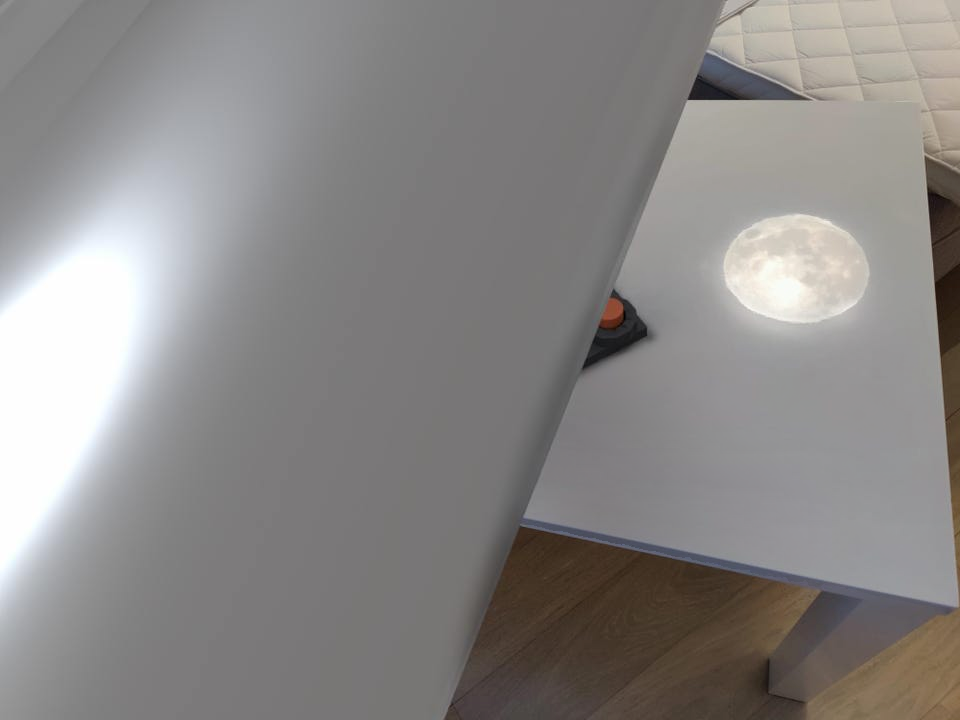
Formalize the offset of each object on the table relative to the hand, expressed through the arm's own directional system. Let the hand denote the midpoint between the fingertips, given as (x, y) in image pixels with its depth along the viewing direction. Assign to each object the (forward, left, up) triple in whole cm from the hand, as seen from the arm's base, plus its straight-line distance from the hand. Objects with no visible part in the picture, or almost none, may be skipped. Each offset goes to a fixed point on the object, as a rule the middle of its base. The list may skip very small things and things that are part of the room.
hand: (540, 182), depth 51 cm
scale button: (+10, +7, -30) cm, 32 cm away
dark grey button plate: (+5, +11, -33) cm, 35 cm away
